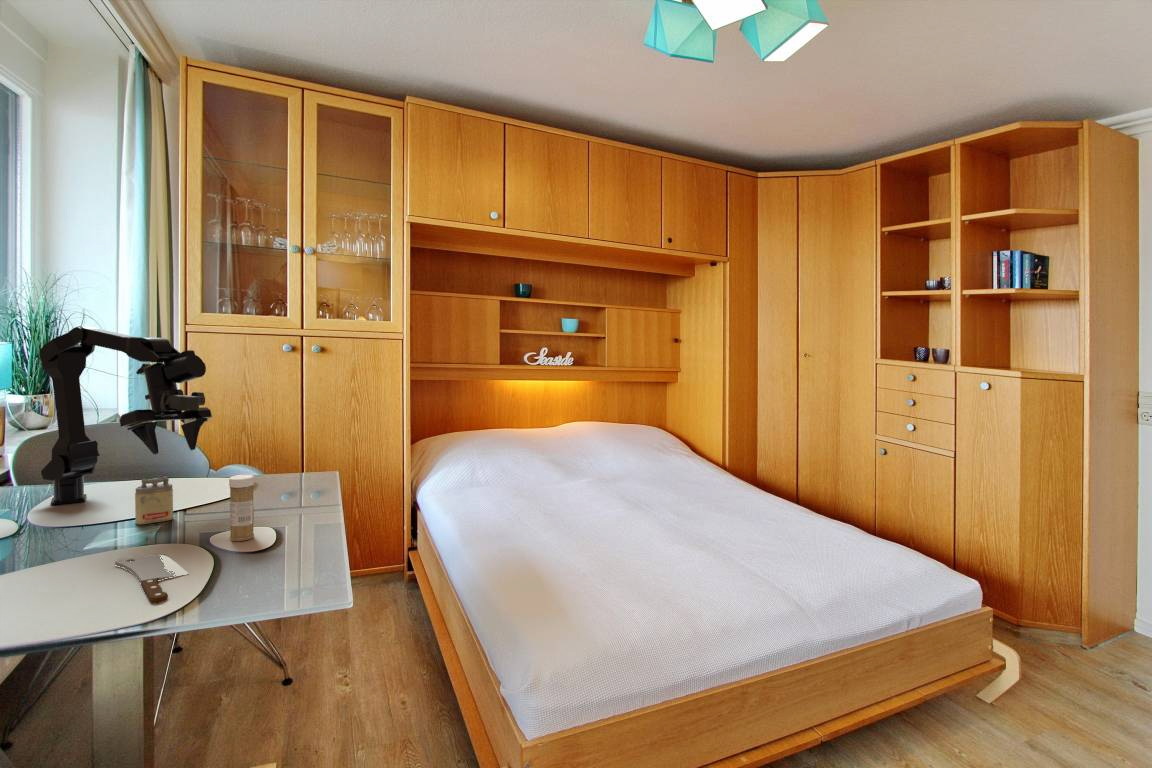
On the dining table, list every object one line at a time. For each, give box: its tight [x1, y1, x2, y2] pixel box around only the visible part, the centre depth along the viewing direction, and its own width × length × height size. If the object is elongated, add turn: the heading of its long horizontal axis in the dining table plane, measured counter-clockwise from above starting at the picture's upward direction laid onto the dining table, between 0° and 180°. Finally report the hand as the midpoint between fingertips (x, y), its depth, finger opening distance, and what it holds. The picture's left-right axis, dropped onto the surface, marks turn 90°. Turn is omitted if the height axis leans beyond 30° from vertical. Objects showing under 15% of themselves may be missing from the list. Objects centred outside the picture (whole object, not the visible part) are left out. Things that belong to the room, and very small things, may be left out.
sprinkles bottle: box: [228, 474, 255, 542], centre depth 122 cm, size 5×5×13 cm
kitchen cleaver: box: [114, 554, 176, 604], centre depth 102 cm, size 24×1×10 cm
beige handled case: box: [134, 475, 174, 525], centre depth 131 cm, size 7×4×10 cm, turn 135°
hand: (175, 451), depth 137 cm, fingers open, 9 cm apart
